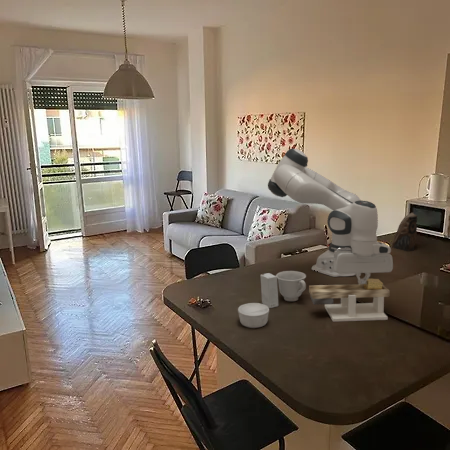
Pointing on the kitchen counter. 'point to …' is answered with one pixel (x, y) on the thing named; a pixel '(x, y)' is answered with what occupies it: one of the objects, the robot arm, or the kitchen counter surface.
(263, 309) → the ramekin
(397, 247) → the owl
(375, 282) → the tan rectangular block
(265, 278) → the skincare box
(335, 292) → the beam
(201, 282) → the kitchen counter surface
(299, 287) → the teacup
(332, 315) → the pivot stand
